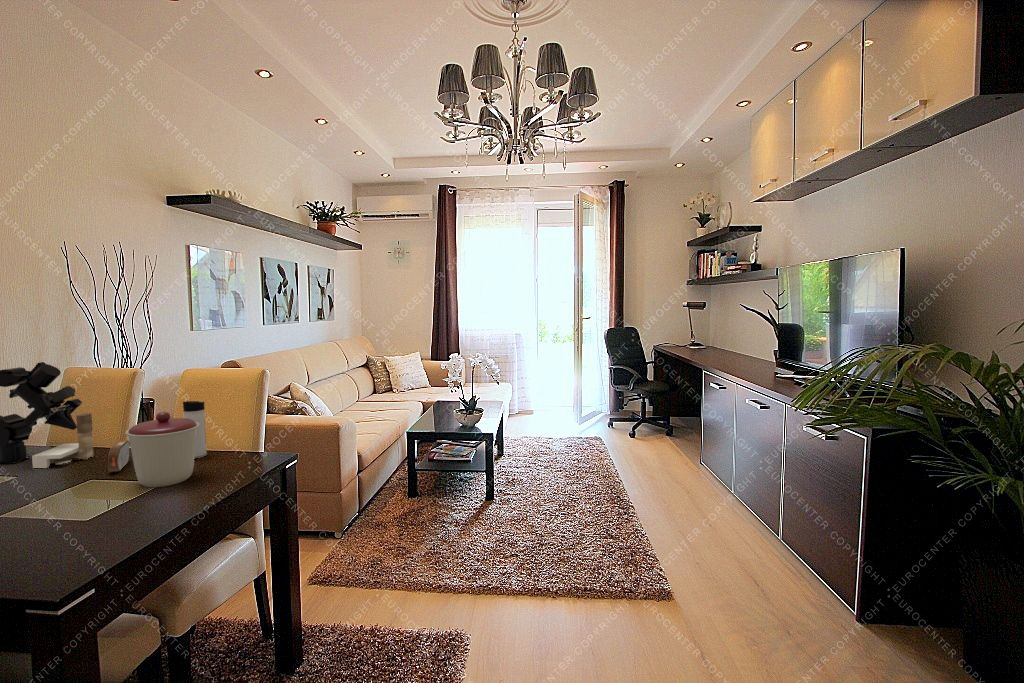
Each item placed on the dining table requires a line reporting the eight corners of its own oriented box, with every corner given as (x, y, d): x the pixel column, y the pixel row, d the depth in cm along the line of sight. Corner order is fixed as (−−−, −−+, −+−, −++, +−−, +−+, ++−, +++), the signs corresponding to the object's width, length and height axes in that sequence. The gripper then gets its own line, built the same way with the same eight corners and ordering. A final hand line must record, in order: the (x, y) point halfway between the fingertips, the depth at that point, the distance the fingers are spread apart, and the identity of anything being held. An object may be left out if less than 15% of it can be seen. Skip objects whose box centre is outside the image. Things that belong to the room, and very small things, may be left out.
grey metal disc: (50, 466, 164) (50, 462, 164) (60, 462, 168) (60, 458, 168) (66, 466, 164) (65, 462, 164) (75, 462, 169) (75, 458, 168)
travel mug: (179, 459, 171) (177, 401, 170) (197, 453, 178) (194, 398, 176) (194, 461, 169) (191, 402, 168) (211, 455, 176) (208, 399, 174)
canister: (182, 467, 163) (180, 403, 161) (213, 478, 154) (211, 410, 152) (116, 485, 147) (112, 414, 146) (146, 497, 138) (142, 422, 136)
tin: (121, 462, 168) (119, 437, 168) (132, 460, 170) (131, 436, 169) (107, 476, 155) (105, 449, 154) (119, 474, 156) (118, 448, 155)
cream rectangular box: (32, 469, 160) (32, 455, 160) (65, 456, 174) (64, 443, 174) (60, 468, 162) (60, 454, 161) (90, 455, 175) (90, 442, 175)
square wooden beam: (44, 465, 163) (41, 420, 162) (63, 457, 172) (60, 414, 170) (76, 464, 164) (73, 419, 163) (93, 456, 173) (91, 413, 172)
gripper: (32, 384, 159) (73, 417, 161) (74, 375, 177) (110, 406, 179) (5, 409, 158) (47, 442, 161) (51, 398, 176) (87, 428, 179)
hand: (75, 428), depth 170 cm, fingers closed
